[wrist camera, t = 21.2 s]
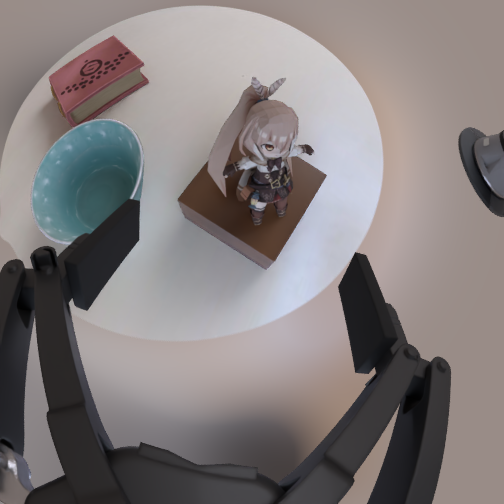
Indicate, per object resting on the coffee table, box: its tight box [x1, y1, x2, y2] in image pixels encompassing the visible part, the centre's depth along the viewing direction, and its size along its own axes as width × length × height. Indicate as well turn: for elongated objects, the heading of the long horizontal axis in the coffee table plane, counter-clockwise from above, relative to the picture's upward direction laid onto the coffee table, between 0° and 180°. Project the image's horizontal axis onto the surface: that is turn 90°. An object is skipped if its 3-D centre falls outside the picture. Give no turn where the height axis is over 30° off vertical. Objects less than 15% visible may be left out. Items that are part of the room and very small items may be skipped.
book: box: [49, 35, 149, 128], centre depth 35 cm, size 14×15×5 cm
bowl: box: [31, 119, 144, 245], centre depth 30 cm, size 16×16×8 cm
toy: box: [207, 77, 314, 225], centre depth 23 cm, size 9×8×15 cm
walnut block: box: [178, 126, 327, 269], centre depth 32 cm, size 12×12×6 cm
